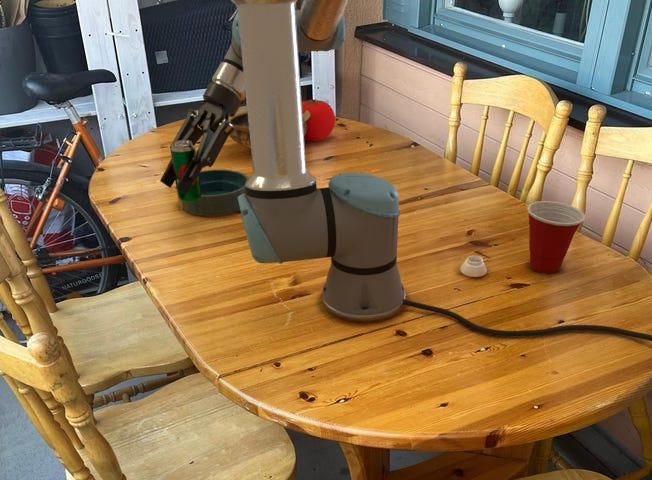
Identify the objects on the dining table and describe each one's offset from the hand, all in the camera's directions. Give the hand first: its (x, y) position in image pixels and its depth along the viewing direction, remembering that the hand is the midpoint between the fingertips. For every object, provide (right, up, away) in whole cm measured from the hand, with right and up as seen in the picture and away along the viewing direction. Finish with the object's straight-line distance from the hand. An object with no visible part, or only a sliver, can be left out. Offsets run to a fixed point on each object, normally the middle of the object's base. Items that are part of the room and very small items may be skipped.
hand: (173, 187), depth 147 cm
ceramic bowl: (+15, +23, +50) cm, 57 cm away
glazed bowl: (+6, +1, +20) cm, 21 cm away
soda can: (+3, -2, +4) cm, 5 cm away
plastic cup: (+76, -18, -8) cm, 79 cm away
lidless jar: (+61, -19, -10) cm, 65 cm away
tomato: (+28, +33, +54) cm, 69 cm away
